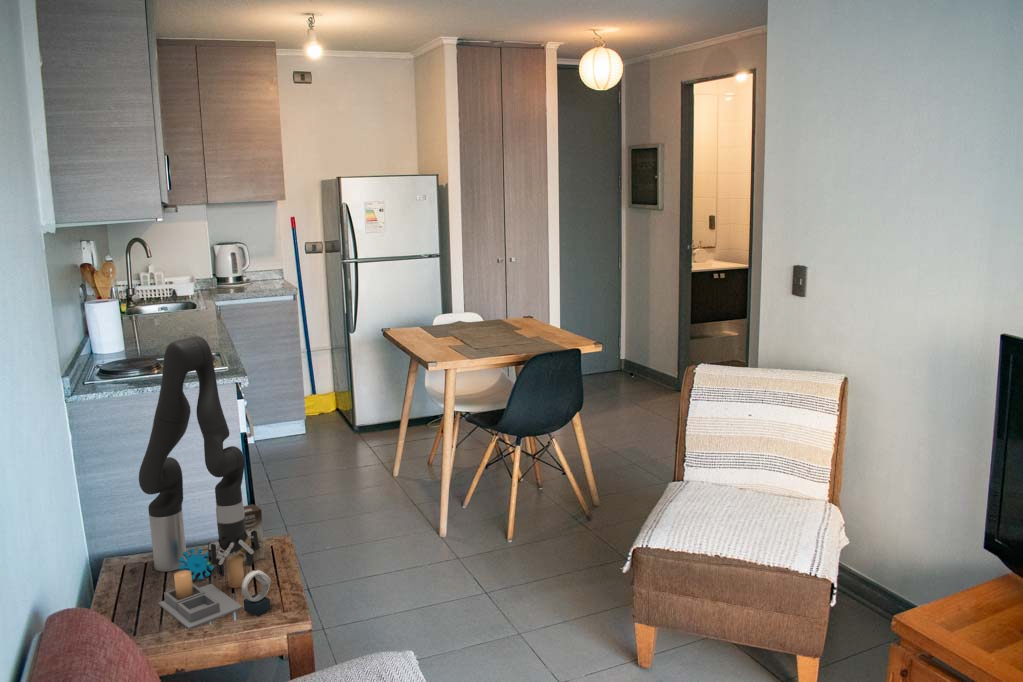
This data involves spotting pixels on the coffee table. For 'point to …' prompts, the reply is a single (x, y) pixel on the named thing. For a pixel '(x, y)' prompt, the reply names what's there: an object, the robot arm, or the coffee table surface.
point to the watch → (256, 602)
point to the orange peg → (235, 571)
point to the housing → (196, 602)
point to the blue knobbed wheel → (196, 563)
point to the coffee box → (253, 522)
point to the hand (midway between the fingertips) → (235, 570)
